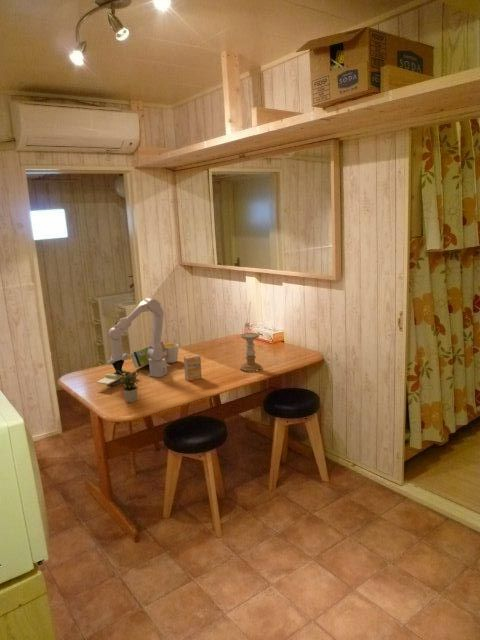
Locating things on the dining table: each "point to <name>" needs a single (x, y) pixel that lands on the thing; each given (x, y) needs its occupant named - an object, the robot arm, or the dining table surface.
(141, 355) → the tea box
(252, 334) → the candle holder
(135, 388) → the house plant
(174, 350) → the mug
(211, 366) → the dining table surface
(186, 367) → the supplement box
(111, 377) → the cover plate
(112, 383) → the walnut box
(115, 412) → the dining table surface
